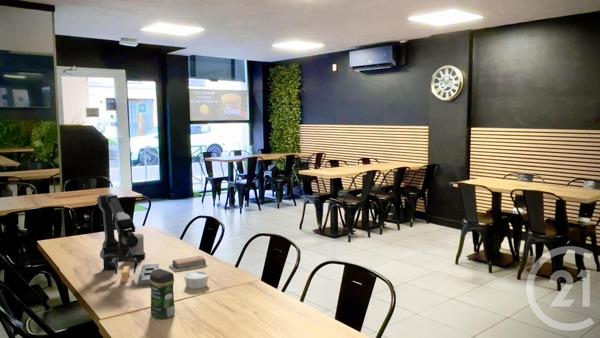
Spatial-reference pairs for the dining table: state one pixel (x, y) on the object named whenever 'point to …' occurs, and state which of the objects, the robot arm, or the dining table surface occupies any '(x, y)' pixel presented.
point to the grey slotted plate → (146, 274)
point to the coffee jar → (162, 294)
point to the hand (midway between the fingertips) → (125, 273)
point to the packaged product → (188, 263)
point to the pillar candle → (138, 246)
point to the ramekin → (196, 280)
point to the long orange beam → (125, 274)
